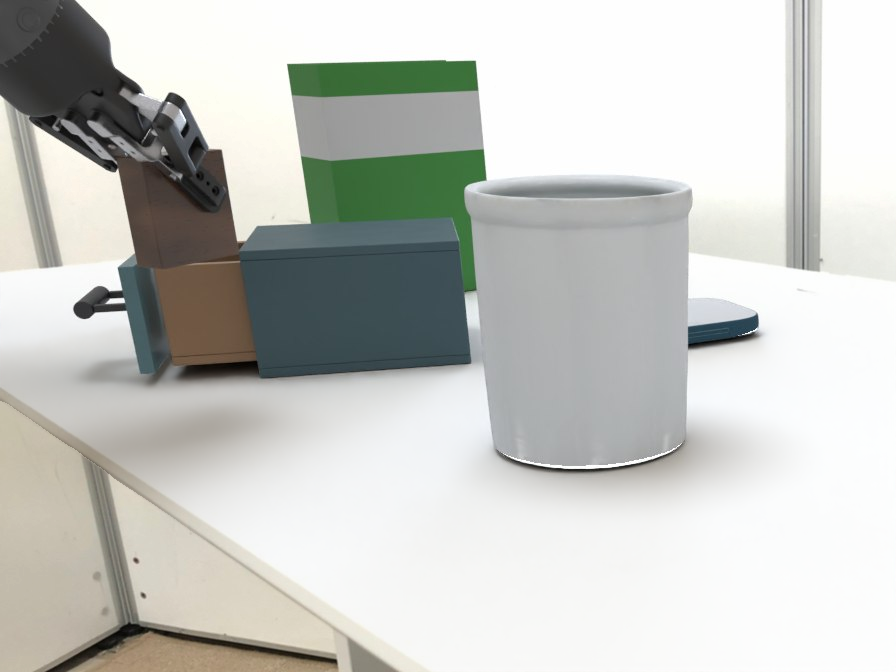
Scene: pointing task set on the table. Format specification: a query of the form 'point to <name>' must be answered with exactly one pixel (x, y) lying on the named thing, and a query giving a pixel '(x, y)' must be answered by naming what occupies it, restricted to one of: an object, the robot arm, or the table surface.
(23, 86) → the robot arm
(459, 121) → the green cereal box
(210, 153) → the walnut board
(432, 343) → the cabinet
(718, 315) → the external hard drive
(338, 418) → the table surface
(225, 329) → the drawer
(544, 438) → the utensil holder
